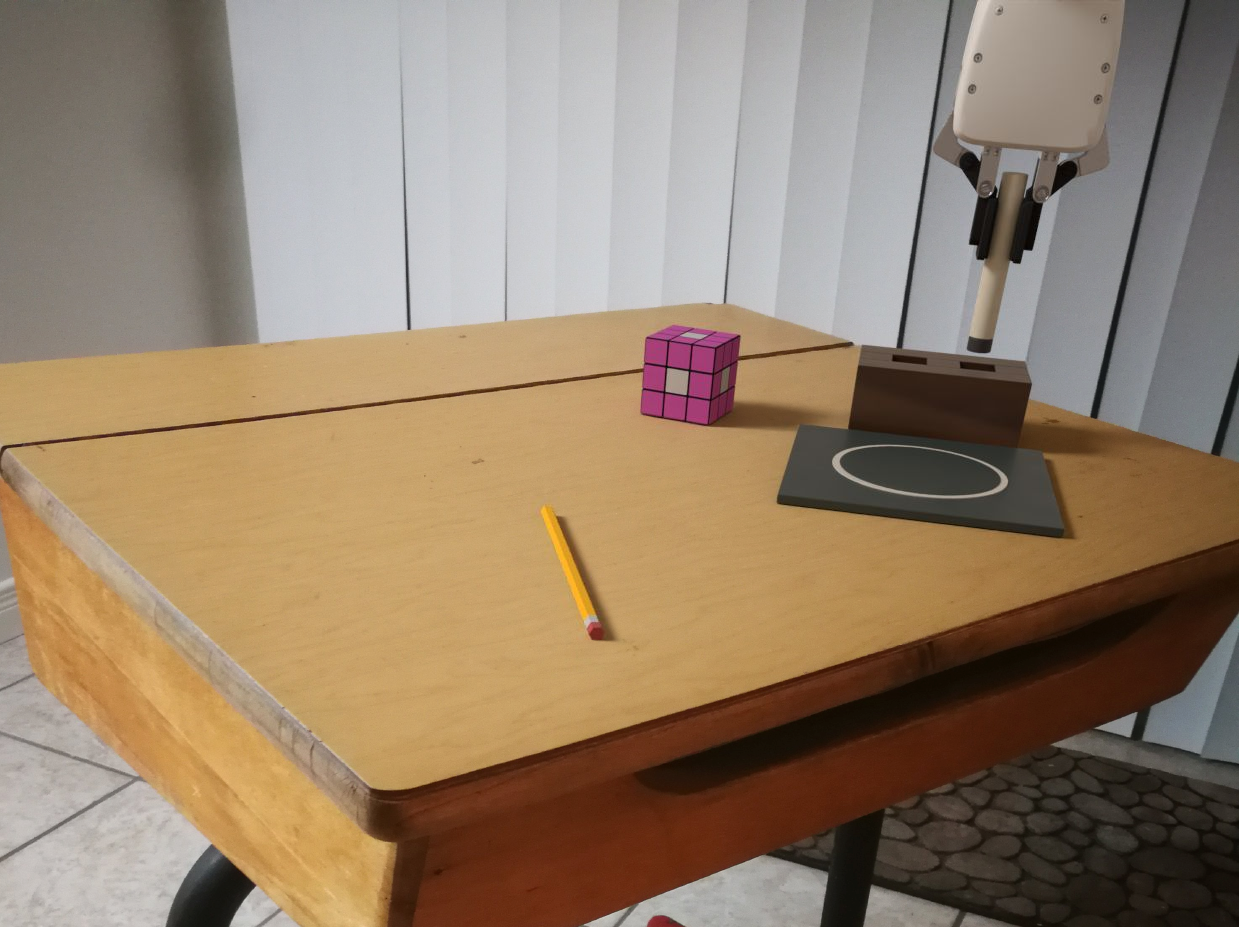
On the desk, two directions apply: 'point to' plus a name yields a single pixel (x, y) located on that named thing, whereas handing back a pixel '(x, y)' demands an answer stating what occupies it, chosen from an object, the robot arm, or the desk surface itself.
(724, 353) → the puzzle toy
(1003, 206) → the marker
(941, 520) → the board
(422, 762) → the desk surface
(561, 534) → the pencil
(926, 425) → the holder
